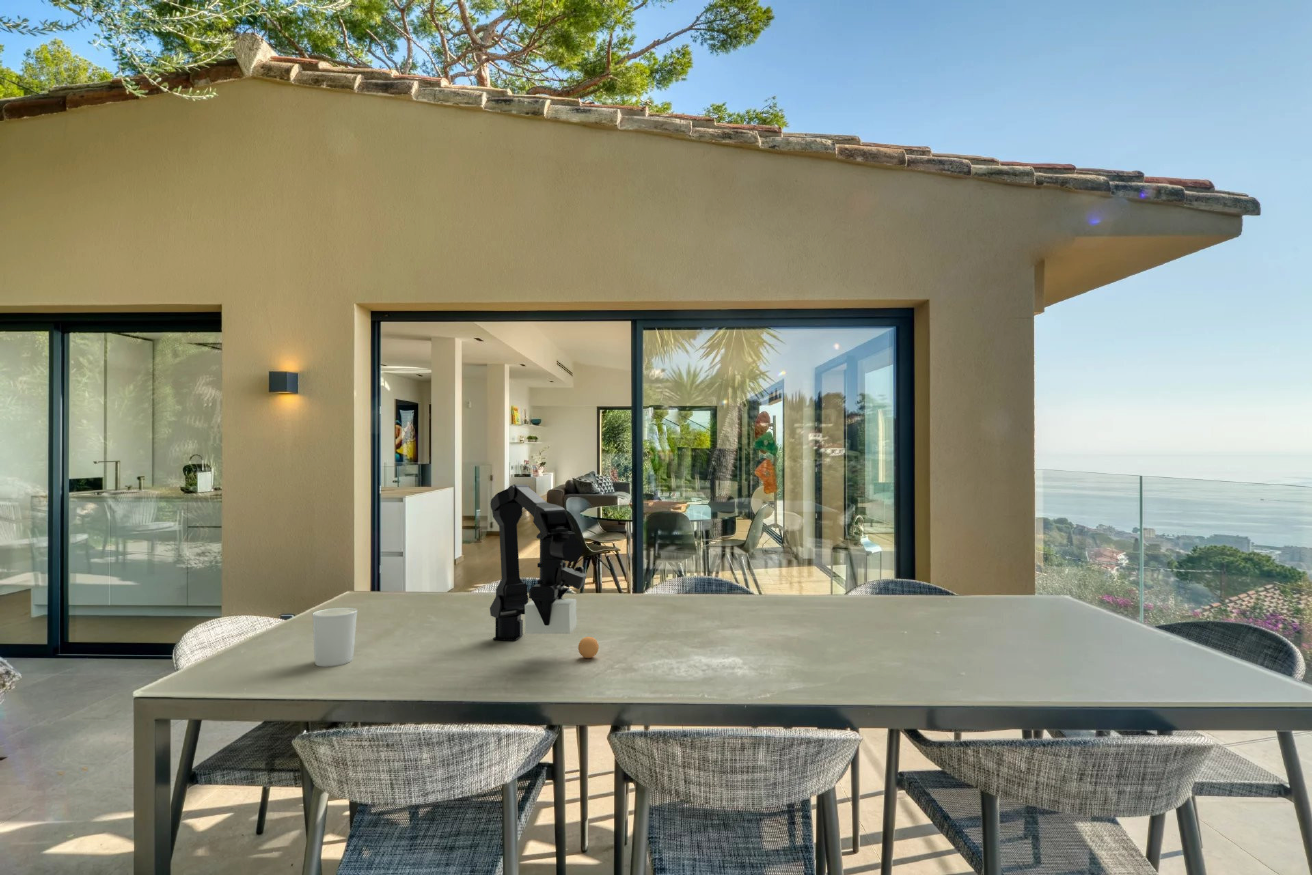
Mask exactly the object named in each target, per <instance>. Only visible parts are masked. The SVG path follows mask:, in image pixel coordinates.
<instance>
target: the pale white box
mask: <svg viewBox="0 0 1312 875" xmlns="http://www.w3.org/2000/svg"><path fill="white" fill-rule="evenodd" d="M577 626H578V625H577V598H562V599H557V600H556V601H555V602H554V603H553V606H552V612H551V619H550V624H549V625H544V623H543V620H542V618H541V616H540V614H539V612H538V609H537V608H536V606H535V604H534V602H533V601H532V600H530V601H528V603H527V604H526V605H525V614H524V634H531V635H532V634H533V635H534V634H538V635H540V634H552V635H553V634H555V635H556V634H566V635H567V634H571V633H572V632H573V630H575V629H576V627H577Z"/></svg>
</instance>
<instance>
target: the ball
mask: <svg viewBox="0 0 1312 875" xmlns="http://www.w3.org/2000/svg"><path fill="white" fill-rule="evenodd" d="M599 645H600V644H599V643H598V640H597V639H595V638H594V637H592V636H585V637H583V638H582V639H581V640H580V641H579V643H578V647H577V649H578V652H579V655H580V656H582V658H586V659H591V658H594V657H595V656H596V655H597V654H598V652H599V647H600V646H599Z"/></svg>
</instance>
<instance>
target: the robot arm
mask: <svg viewBox="0 0 1312 875" xmlns="http://www.w3.org/2000/svg"><path fill="white" fill-rule="evenodd" d="M523 509H524V510H526V511H527V512H528V513H529V514H530V515H531V516H532V517H533V520H532V522H533V524H534V526H536V528H537V529H538V531H539V532H538V534H536V539H539V561H538V562H537V568H539V578H538V579H537V580H536V581H537V584H534V585H533V586H531V587H530V589H528V585H527V583H526V582H524V581H523V579H521V577H520V560H519V559H520V558H519V556H520V555H519V538H518V523H519V521H520V520H521V518H522V516H523ZM490 510H491V511H492V512H491V513H492V514H491V515H492V518H493V520H495V523H496V524H497V525H498V528H499V530H498V532H499V544H500V545H499V549H500V550H499V552H500V572H501V574H500V576H501V579H500V581H499V583H498V585H497V586H496V589H495V597H494V599H493V601H492V603H491V605H490V607H489V612H490V617H492V618H495V627H494V628H495V633H494V634H495V636H494V637H493V638H492V640H493V641H517V640H518V639H520V638H521V637H522V636H523V635H524V632H523V631H524V629H523V628H524V623H523V622H524V620H523V619H522V615H525V605H526V604H527V603H529V599H531V601H533V602H534V604H535V606H536V608H537V609H538V612H539V614H540V616H541V618H542V620H543V623H544V625H549V624H550V619H551V612H552V606H553V603H554V602H555V601H556V600H557V599H563V596H564V595H565V594H566V593H567V592H568V591H569V590H570V587H573V589H575V590H580V589H581V588H583V585H584V583H585V580H586V579H587V573H585V570H584V567H583V566H580V565H577V566H576V567H575V568H573V567H571V568H569V567H568V566H567V562H569V563H570V562H571V563H575V562H576V561H578V560H579V559H581V557H582V555H583V551H584V547H583V544H582V541H580V539H579V538H577V537H576V536H577V535H576V533H575V531H574V526H573V524H572V522H571V520H570V517H569V515H568V512H567V510H566V509H565V508H564V507H563V506H561V505H558V504H554V503H549V502H547V501H545V499H544V498H542V497H541V496H540V495H539V494H537V493H536V492H535V491H534V490H533V489H531V487H530V485H528V484H526V483H524V484H523V483H520V484H519V483H518V484H516V483H515V484H512V485H510V486H509V487H507V488H506V489H504V490H502V491H499V492H496V494H495V495H494V496H493V497H492V498H491V500H490Z"/></svg>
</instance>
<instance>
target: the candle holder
mask: <svg viewBox="0 0 1312 875" xmlns="http://www.w3.org/2000/svg"><path fill="white" fill-rule="evenodd" d="M357 616H358V609H357V608H355V607H333V608H330V607H329V608H326V609H322V610H315V611H314V612H313V613H312V627H313V628H312V629H313V630H312V632H313V654H314V664H315V665H316V666H317V667H324V668H325V667H337V666H342V665H345V664H348V663H350V662H352V661H353V660H354V655H355V653H354V652H355V640H356V629H357V618H358V617H357Z"/></svg>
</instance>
